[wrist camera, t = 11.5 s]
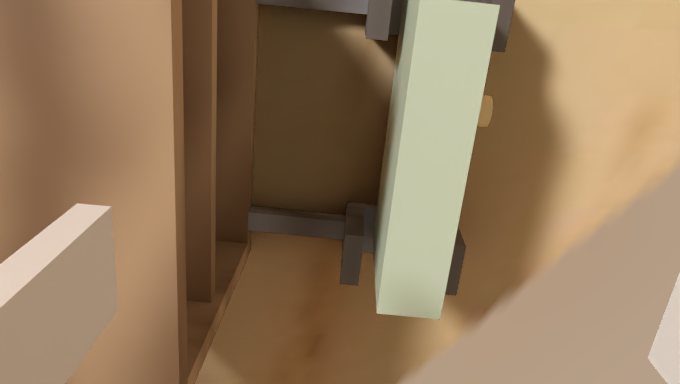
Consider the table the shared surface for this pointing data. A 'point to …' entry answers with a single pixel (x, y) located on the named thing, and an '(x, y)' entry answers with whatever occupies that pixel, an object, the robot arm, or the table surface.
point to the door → (429, 149)
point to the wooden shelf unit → (158, 159)
